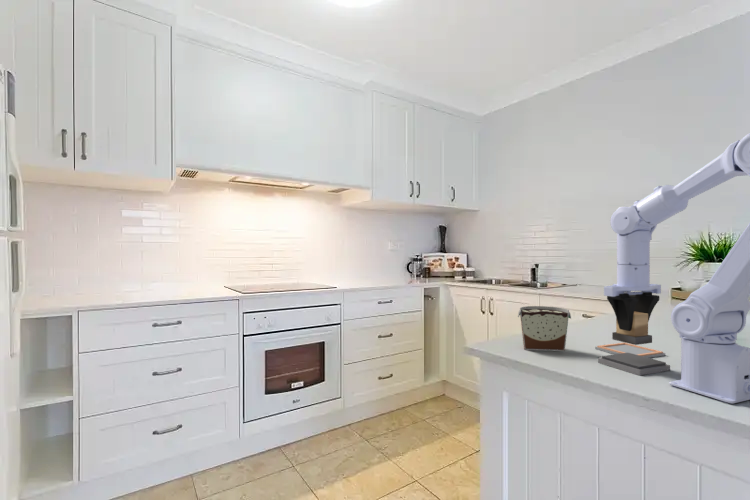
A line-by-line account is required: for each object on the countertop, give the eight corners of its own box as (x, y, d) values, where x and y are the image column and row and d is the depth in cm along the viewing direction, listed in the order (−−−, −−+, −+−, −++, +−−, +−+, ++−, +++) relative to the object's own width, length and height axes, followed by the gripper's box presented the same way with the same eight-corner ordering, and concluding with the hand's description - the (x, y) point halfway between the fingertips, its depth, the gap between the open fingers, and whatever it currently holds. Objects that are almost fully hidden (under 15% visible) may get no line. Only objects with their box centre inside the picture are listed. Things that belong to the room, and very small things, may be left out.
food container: (562, 344, 98) (562, 306, 98) (571, 351, 92) (571, 310, 92) (512, 343, 100) (512, 305, 100) (518, 349, 94) (518, 309, 94)
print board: (665, 355, 89) (665, 351, 89) (635, 359, 85) (635, 356, 85) (623, 345, 98) (623, 342, 98) (595, 348, 94) (595, 345, 94)
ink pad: (670, 370, 78) (670, 362, 78) (639, 375, 75) (639, 367, 75) (627, 358, 86) (627, 351, 86) (598, 362, 83) (598, 355, 83)
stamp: (652, 342, 79) (652, 313, 79) (635, 344, 77) (635, 315, 77) (628, 337, 84) (628, 310, 84) (612, 339, 82) (612, 311, 82)
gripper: (637, 263, 87) (637, 323, 87) (590, 264, 82) (590, 327, 82) (671, 264, 80) (671, 329, 80) (622, 265, 75) (622, 334, 75)
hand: (632, 329), depth 80 cm, fingers closed on stamp, 4 cm apart
